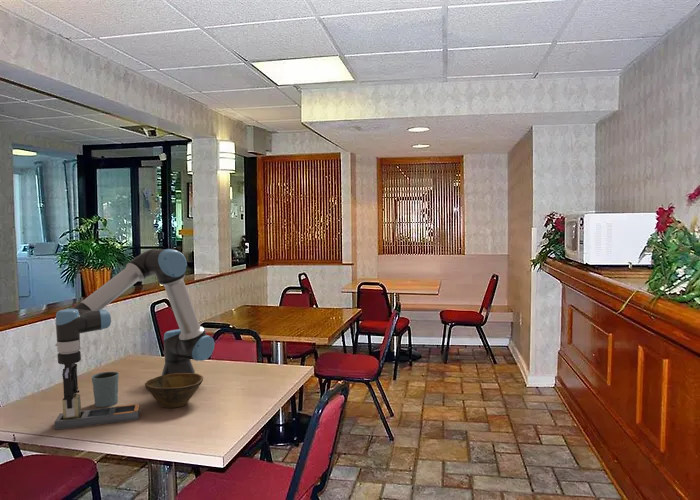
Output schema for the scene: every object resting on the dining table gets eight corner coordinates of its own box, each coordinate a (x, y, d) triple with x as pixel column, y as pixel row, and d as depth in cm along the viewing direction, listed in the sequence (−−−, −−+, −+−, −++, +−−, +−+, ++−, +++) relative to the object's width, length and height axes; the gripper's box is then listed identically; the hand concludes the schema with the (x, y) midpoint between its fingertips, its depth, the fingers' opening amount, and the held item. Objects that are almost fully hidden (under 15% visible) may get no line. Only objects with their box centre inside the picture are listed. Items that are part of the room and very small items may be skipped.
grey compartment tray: (140, 411, 208) (139, 403, 208) (138, 419, 199) (137, 411, 199) (60, 421, 200) (59, 412, 199) (54, 429, 191) (54, 421, 191)
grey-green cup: (93, 409, 212) (91, 379, 211) (92, 402, 221) (91, 373, 220) (120, 404, 216) (119, 375, 216) (119, 397, 225) (117, 369, 225)
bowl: (186, 391, 232) (185, 368, 231) (213, 403, 216) (212, 379, 215) (136, 404, 217) (135, 380, 216) (162, 418, 200) (160, 392, 200)
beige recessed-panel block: (81, 420, 200) (80, 393, 199) (78, 425, 195) (77, 397, 195) (66, 422, 198) (65, 394, 198) (63, 427, 194) (62, 399, 193)
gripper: (62, 347, 203) (66, 407, 204) (51, 358, 186) (55, 423, 187) (84, 345, 205) (87, 404, 206) (75, 356, 188) (78, 420, 189)
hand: (72, 413), depth 197 cm, fingers closed on beige recessed-panel block, 5 cm apart
